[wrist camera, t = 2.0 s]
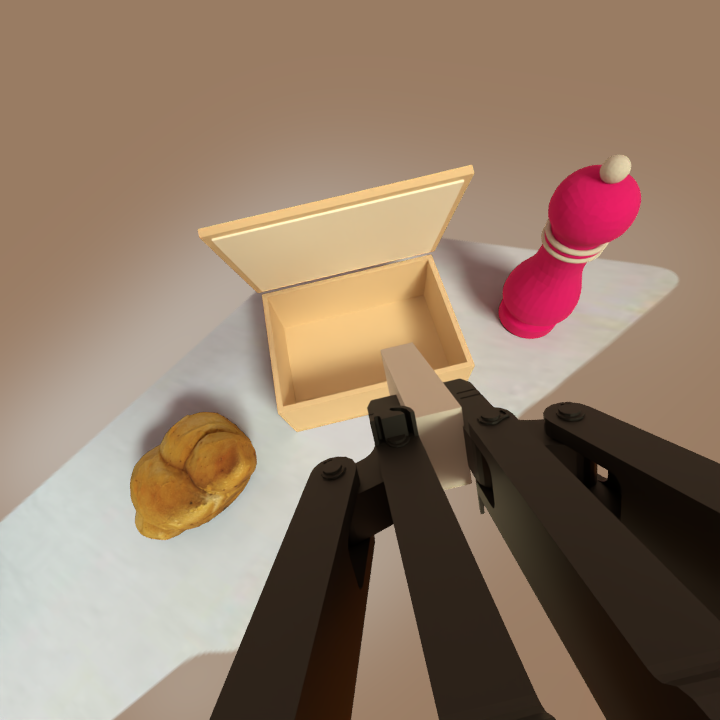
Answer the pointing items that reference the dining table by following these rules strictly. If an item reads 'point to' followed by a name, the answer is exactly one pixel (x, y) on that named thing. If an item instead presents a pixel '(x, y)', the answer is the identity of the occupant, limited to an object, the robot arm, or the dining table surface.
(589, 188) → the pepper mill
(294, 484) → the dining table surface
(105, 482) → the dining table surface
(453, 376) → the mailer box
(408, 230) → the lid
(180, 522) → the bread roll
